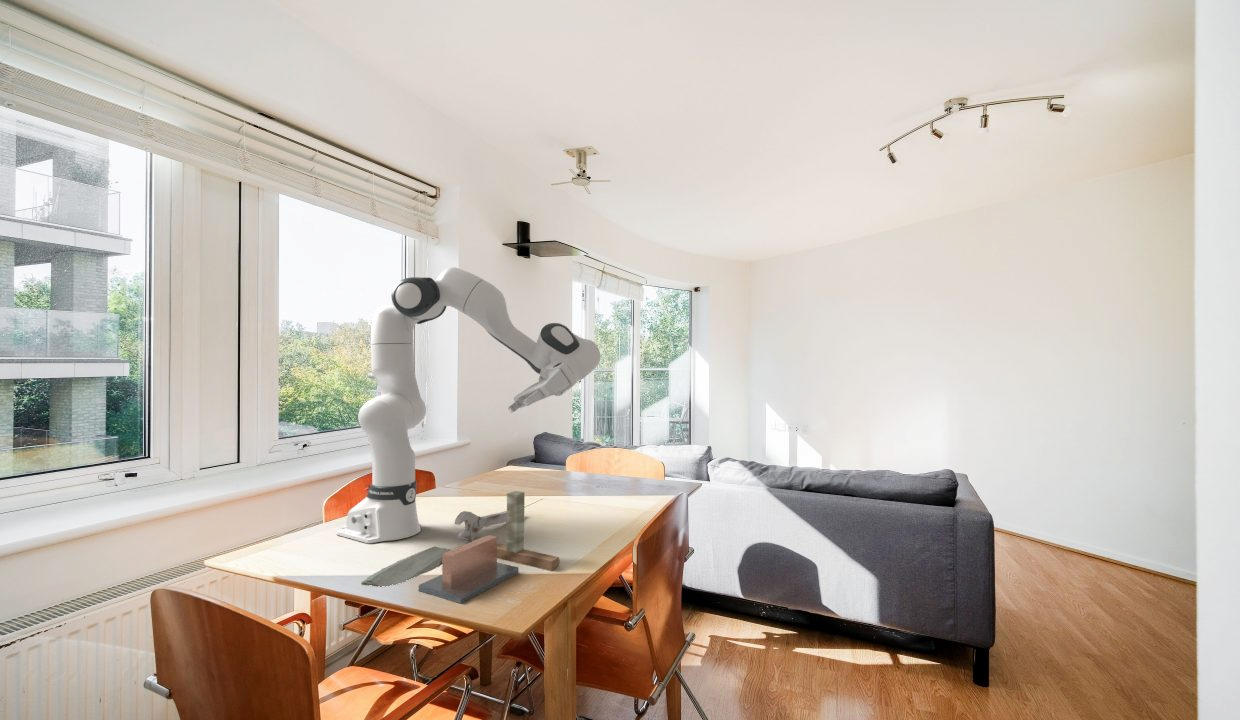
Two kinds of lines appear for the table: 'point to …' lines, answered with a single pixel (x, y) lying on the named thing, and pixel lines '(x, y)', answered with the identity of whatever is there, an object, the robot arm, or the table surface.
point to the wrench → (477, 522)
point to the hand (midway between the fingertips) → (517, 406)
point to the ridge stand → (469, 571)
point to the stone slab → (407, 568)
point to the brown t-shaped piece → (521, 538)
